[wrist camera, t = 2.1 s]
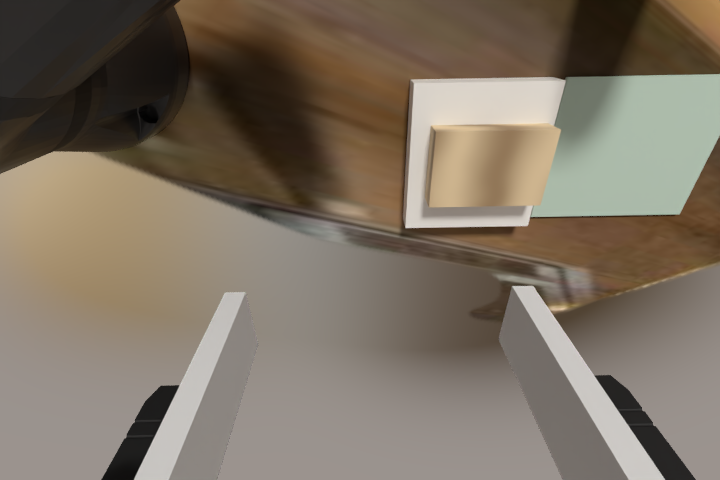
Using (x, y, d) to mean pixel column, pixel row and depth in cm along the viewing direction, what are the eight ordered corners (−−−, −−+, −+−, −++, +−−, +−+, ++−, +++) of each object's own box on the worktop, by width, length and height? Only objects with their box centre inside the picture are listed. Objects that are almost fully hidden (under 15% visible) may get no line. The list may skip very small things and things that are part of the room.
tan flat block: (424, 197, 30) (428, 207, 29) (431, 125, 27) (436, 131, 25) (529, 195, 30) (540, 205, 29) (548, 123, 27) (561, 129, 25)
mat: (529, 215, 34) (530, 216, 33) (565, 76, 27) (567, 77, 27) (677, 212, 34) (679, 214, 33) (746, 73, 27) (750, 74, 27)
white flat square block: (402, 217, 33) (405, 228, 32) (410, 79, 27) (413, 83, 26) (518, 215, 34) (527, 225, 32) (552, 77, 27) (566, 80, 26)
